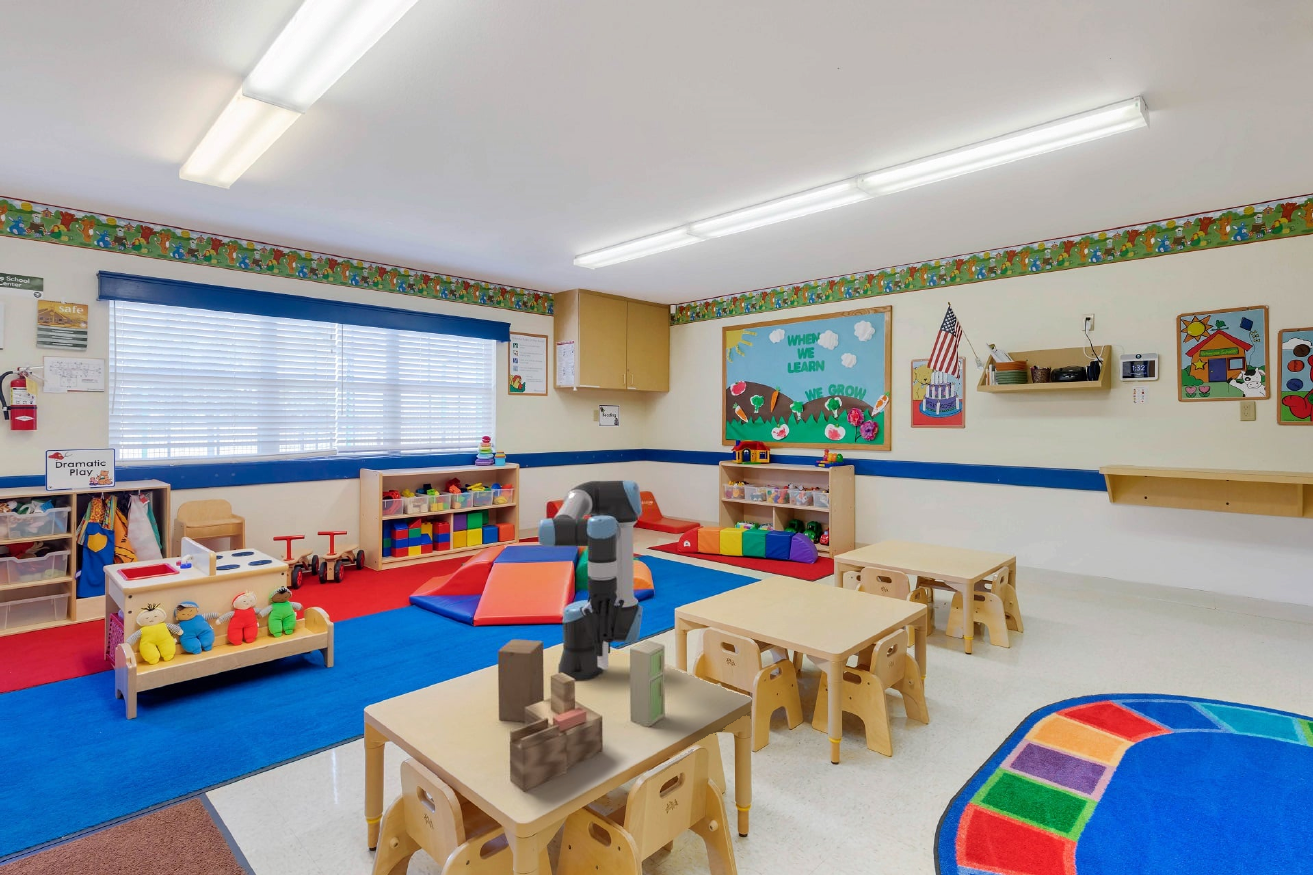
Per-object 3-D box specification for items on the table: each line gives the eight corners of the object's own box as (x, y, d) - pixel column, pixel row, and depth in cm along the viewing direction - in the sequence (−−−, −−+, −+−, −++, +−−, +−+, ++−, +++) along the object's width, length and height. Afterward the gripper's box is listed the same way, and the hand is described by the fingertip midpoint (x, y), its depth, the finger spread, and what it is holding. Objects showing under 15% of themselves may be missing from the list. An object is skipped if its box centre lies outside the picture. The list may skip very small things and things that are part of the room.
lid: (562, 698, 175) (562, 661, 175) (602, 720, 162) (602, 681, 161) (524, 711, 167) (524, 673, 167) (563, 736, 154) (562, 695, 153)
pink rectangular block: (579, 716, 160) (579, 707, 160) (586, 720, 158) (586, 711, 158) (552, 727, 155) (552, 717, 155) (559, 731, 153) (559, 721, 153)
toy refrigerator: (650, 728, 174) (649, 653, 173) (629, 720, 178) (629, 647, 178) (667, 717, 180) (667, 644, 179) (647, 710, 184) (646, 639, 184)
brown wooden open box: (563, 726, 175) (562, 684, 175) (606, 753, 161) (605, 707, 160) (483, 758, 159) (482, 711, 159) (523, 791, 145) (522, 740, 144)
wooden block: (531, 723, 177) (530, 652, 177) (498, 720, 179) (497, 650, 179) (544, 707, 187) (543, 640, 186) (513, 704, 189) (512, 638, 188)
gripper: (613, 570, 170) (613, 656, 170) (573, 578, 161) (573, 669, 162) (631, 574, 164) (631, 664, 165) (590, 583, 155) (591, 678, 156)
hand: (603, 666), depth 163 cm, fingers closed
